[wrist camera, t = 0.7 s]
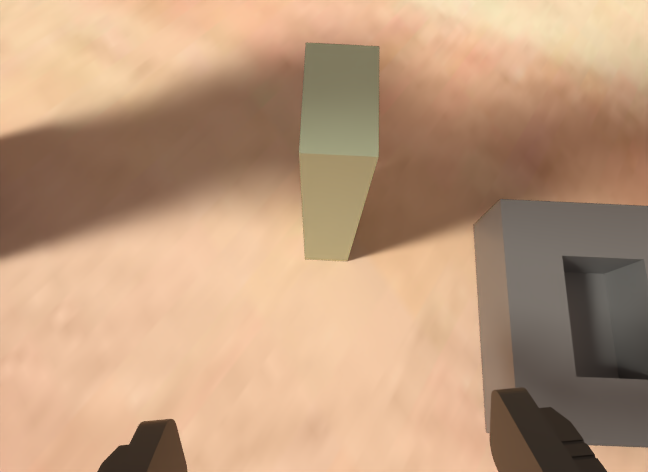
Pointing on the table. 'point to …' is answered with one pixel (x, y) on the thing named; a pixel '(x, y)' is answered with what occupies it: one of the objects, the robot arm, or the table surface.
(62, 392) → the table surface
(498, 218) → the gray block with hole
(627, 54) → the table surface
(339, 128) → the peg
